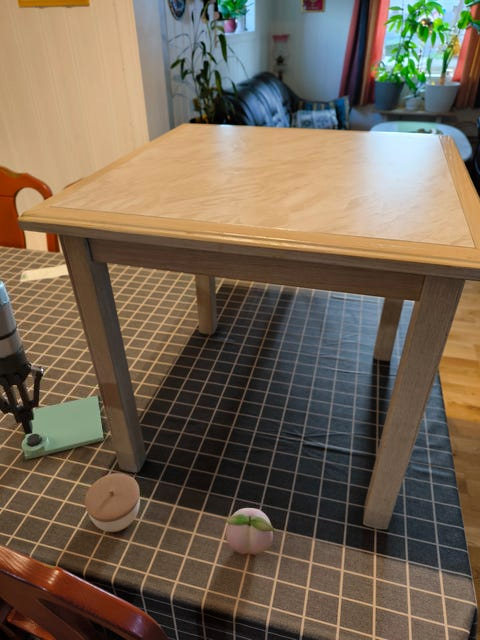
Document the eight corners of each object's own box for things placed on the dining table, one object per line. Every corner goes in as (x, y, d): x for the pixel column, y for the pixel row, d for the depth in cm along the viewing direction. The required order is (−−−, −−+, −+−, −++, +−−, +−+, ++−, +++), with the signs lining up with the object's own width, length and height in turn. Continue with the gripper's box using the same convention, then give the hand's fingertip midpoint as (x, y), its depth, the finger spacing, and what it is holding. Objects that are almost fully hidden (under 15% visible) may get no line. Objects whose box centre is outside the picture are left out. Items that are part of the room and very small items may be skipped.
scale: (24, 463, 105) (21, 453, 103) (27, 416, 118) (23, 406, 116) (104, 443, 110) (102, 433, 108) (98, 400, 123) (96, 391, 121)
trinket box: (114, 488, 100) (107, 460, 94) (153, 507, 96) (149, 479, 91) (80, 528, 91) (71, 500, 86) (121, 550, 88) (114, 523, 82)
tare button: (28, 448, 105) (26, 443, 104) (28, 439, 107) (27, 435, 106) (41, 445, 106) (39, 440, 105) (41, 436, 108) (39, 432, 107)
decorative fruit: (271, 527, 92) (274, 497, 87) (272, 566, 85) (275, 537, 80) (226, 525, 93) (226, 495, 87) (223, 564, 86) (223, 534, 80)
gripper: (37, 333, 96) (58, 412, 109) (-31, 344, 92) (-1, 425, 105) (36, 353, 90) (58, 434, 103) (-36, 365, 86) (-3, 448, 99)
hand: (29, 429), depth 104 cm, fingers closed
